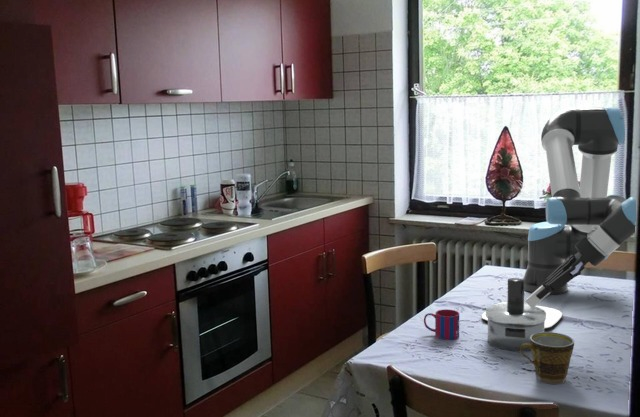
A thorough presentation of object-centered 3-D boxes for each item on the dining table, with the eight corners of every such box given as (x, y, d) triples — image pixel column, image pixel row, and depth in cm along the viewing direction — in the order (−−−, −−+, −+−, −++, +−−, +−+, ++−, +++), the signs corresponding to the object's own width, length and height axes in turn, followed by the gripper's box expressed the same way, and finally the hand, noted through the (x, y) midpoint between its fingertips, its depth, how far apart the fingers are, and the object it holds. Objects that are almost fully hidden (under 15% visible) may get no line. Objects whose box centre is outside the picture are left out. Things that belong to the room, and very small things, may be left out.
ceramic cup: (559, 368, 166) (561, 330, 164) (581, 385, 156) (582, 344, 155) (510, 373, 164) (511, 334, 163) (529, 390, 154) (530, 349, 153)
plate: (567, 314, 207) (567, 309, 207) (547, 336, 189) (547, 330, 189) (499, 304, 219) (499, 299, 219) (474, 323, 201) (474, 318, 201)
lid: (487, 305, 194) (487, 271, 192) (545, 309, 189) (546, 274, 187) (483, 323, 179) (484, 286, 177) (546, 327, 174) (547, 290, 172)
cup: (456, 341, 187) (456, 317, 185) (421, 337, 191) (421, 314, 189) (461, 333, 193) (461, 310, 191) (427, 329, 197) (427, 307, 195)
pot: (489, 327, 197) (490, 304, 196) (543, 331, 192) (543, 307, 191) (485, 352, 178) (485, 327, 177) (544, 357, 173) (545, 331, 172)
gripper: (583, 231, 181) (518, 287, 189) (587, 241, 169) (518, 301, 176) (603, 250, 181) (538, 306, 188) (609, 262, 168) (539, 321, 176)
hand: (528, 304), depth 182 cm, fingers closed
